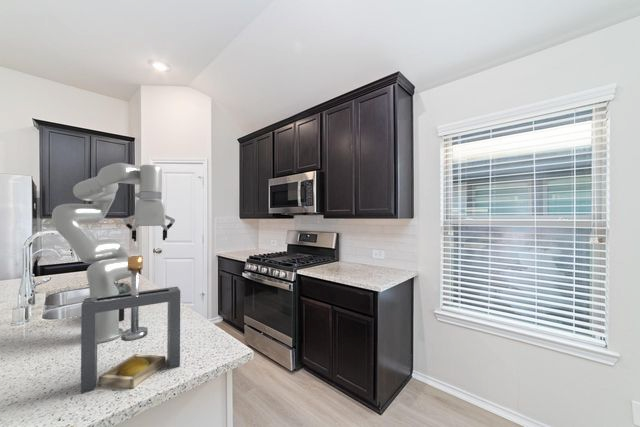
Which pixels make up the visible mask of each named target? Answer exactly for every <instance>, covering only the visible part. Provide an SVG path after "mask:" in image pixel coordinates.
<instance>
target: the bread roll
mask: <svg viewBox="0 0 640 427" xmlns="http://www.w3.org/2000/svg"><path fill="white" fill-rule="evenodd" d="M149 365H150V363H149V362H148V361H147V360H145V359H143V358H136V359H132V360H130V361H128V362H127V363H125V364H124V365H123V366H122V367H121V369H120V371H119V375H118V376H128V377H134V376H135V375H137V374H138V373H140V372H141V371H142V370H144V369H145V368H146V367H148V366H149Z"/></svg>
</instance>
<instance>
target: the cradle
mask: <svg viewBox="0 0 640 427" xmlns="http://www.w3.org/2000/svg"><path fill="white" fill-rule="evenodd" d="M136 358H143V359H145V360H147V361H148V362H149V363H150V365H149V366H148V367H146V368H145V369H144V370H142V371H141V372H140V373H138V374H137V375H135V376H134V377H128V376H120V375H119V371H120V369H121V367H122V366H123V365H124V364H125V363H127V362H128V361H130V360H132V359H136ZM164 365H166V355H165V356H164V355H153V354H142V353H141V354H140V353H134V354H133V355H131V356H129V357H128V358H127V359H124V360H123V361H122V362H119V363H118V364H116V365H115V366H114V367H112V368H110V369H108V370H107V371H105V372H104V373H102V374H101V375H99V376H98V385H99V386H104V387H105V386H106V387H115V388H126V389H135V388H136V387H137V386H139V385H140V384H141V383H143V382H144V381H145V380H147V379H148V378H149V377H150V376H152V375H153V374H154V373H155V372H157V371H158V370H160V369H161V368H162V367H163V366H164Z"/></svg>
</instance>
